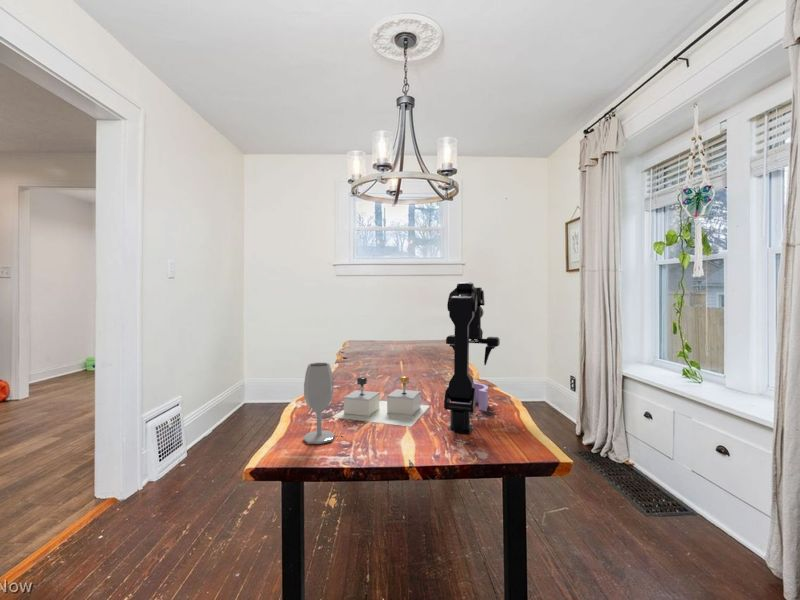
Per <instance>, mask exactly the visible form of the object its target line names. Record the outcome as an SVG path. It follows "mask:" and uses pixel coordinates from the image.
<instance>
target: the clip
mask: <svg viewBox="0 0 800 600" xmlns="http://www.w3.org/2000/svg"><path fill="white" fill-rule="evenodd" d="M473 381H474V388H476V402H475V403H478V410H479V411H482V412H487V411H488V407H489V386H488V385H487V384H485V383H484V384H483V383H479V382H476V381H475V379H473ZM452 403H460V402H452ZM460 404H471V403H460Z"/></svg>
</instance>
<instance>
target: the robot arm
mask: <svg viewBox="0 0 800 600" xmlns="http://www.w3.org/2000/svg"><path fill="white" fill-rule="evenodd" d="M446 305H447V306H446V307H447V311H448V312H449V313H448V314H449V315H448V316H449V319H450V320H451V322H452V323H453V325H454V334H450V335H448V336H446V338H445V344H446V345H449V347H451V349H453V354H454V358H453V359H454V361H453V362H454V363H453V367H454V368H453V369H454V371H453V375H452V376H451V378H450V380H449V381H448V385H447V387H446V389H445V391H444V400H443V408H444V410H445V411H450V425H449V426H448V428H447V431H450V432H454V433H457V434H458V433H459V434H463V435H464V434H465V435H469V434H471V432H472V430H473V425H472V424H471V422H470V421H471V415H470V414H471V413H474V411H475V409H476V402H475V401H476V388H474V381H473V380H474V378H473V377H472V375H471V374H470V371H469V369H470V368H469V366H470V365H469V361H470V353H469V352H470V351H469V350H470V344H483V345H484V344H485V345H486V346H485V352H484V358H483V359H484V361H483V362H484V366H486V365H487V363H488V360H489V356H490V354H491V352H492V350H493V349H496V347H499V346H500V340H501V339H500V338H499V337H497V336H487V337H486V338H483V334H484V331H483V329H482V328H481V327H482V325H481V324H482V323H481V321H482V320H481V319H482V318H483V315H484V312H485V311H484V309H483V307H482V306H485V291H484V290H483V289H482V287H477V286H476V287H475V285H474V283H473V282H472V281H471V282H466V281H465V282H463V281H462V282H458V283H457V284H456V287H455V288H454V289H453V290H452V291H451V292H450V293H449V295H448V299H447V304H446ZM453 402H460V403H470V404H460V403H453Z"/></svg>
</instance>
